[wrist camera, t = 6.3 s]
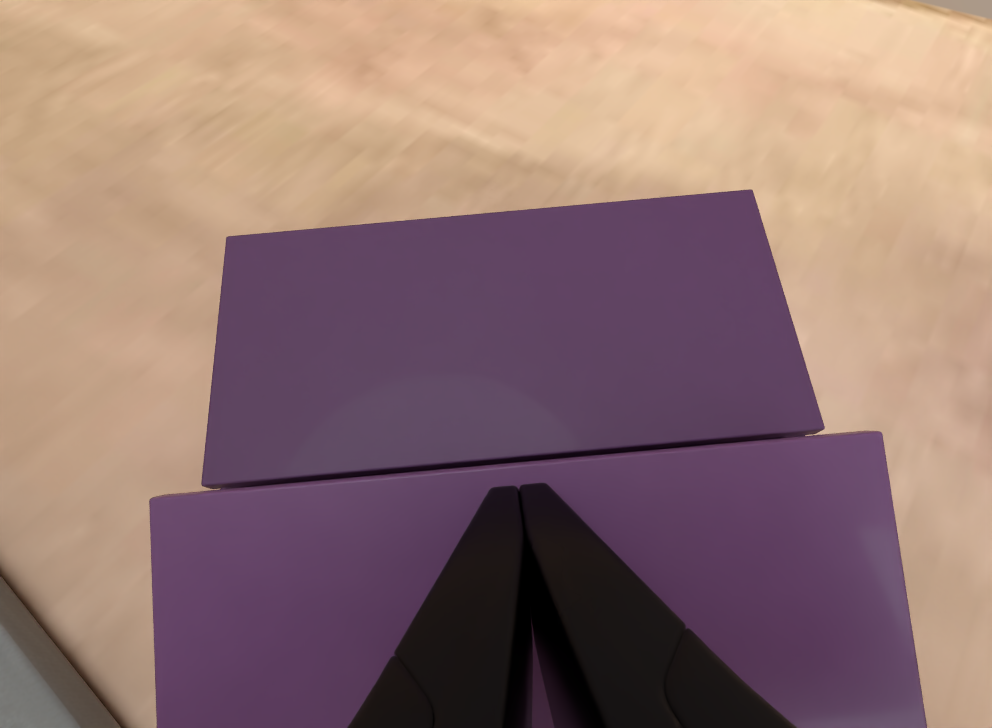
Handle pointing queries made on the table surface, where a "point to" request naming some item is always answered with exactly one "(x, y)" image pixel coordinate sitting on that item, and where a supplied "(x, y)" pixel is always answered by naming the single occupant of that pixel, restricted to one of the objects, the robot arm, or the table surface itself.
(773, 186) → the table surface
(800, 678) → the flap
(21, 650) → the grey rectangular tray
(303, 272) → the box
